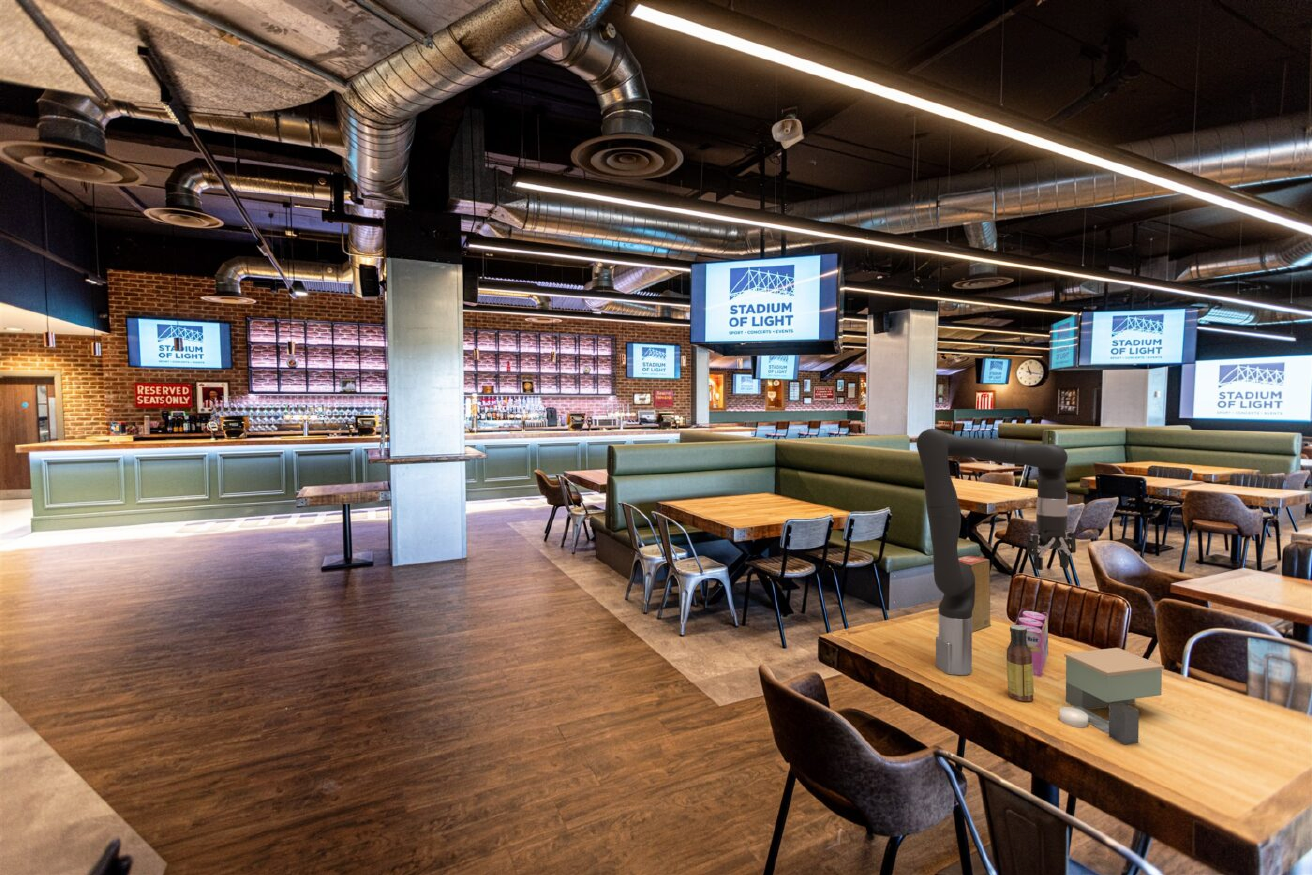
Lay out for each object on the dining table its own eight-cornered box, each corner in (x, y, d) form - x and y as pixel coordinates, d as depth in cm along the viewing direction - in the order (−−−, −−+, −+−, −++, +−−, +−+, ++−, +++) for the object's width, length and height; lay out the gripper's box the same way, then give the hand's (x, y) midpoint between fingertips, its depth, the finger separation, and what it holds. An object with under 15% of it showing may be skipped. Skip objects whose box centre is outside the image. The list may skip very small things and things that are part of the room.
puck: (1074, 729, 149) (1074, 719, 149) (1053, 717, 155) (1053, 708, 155) (1094, 726, 150) (1094, 716, 150) (1072, 715, 156) (1072, 705, 156)
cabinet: (1106, 724, 151) (1107, 672, 150) (1063, 701, 163) (1064, 653, 163) (1163, 716, 154) (1164, 666, 154) (1117, 694, 167) (1117, 647, 166)
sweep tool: (1124, 745, 141) (1124, 712, 141) (1069, 714, 156) (1069, 684, 156) (1138, 743, 142) (1138, 710, 142) (1082, 712, 157) (1082, 682, 157)
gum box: (1021, 646, 202) (1021, 607, 201) (1048, 651, 197) (1049, 611, 197) (1011, 671, 183) (1011, 627, 182) (1042, 677, 178) (1042, 633, 178)
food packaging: (967, 618, 230) (967, 554, 229) (991, 625, 222) (992, 559, 221) (947, 625, 222) (947, 559, 222) (971, 633, 214) (971, 564, 214)
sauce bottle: (1030, 693, 168) (1030, 624, 167) (1036, 703, 162) (1037, 632, 161) (1004, 690, 170) (1004, 622, 169) (1009, 700, 164) (1009, 629, 163)
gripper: (1041, 516, 167) (1041, 573, 168) (1084, 514, 170) (1083, 570, 170) (1020, 512, 174) (1019, 566, 175) (1061, 510, 177) (1061, 563, 178)
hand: (1051, 568), depth 173 cm, fingers open, 8 cm apart
